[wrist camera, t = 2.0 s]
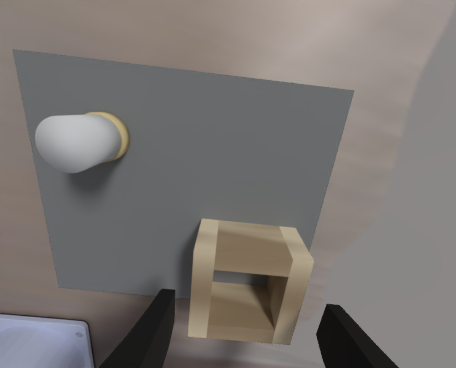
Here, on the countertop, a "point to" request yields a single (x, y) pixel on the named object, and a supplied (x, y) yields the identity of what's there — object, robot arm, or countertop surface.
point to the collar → (248, 294)
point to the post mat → (169, 164)
